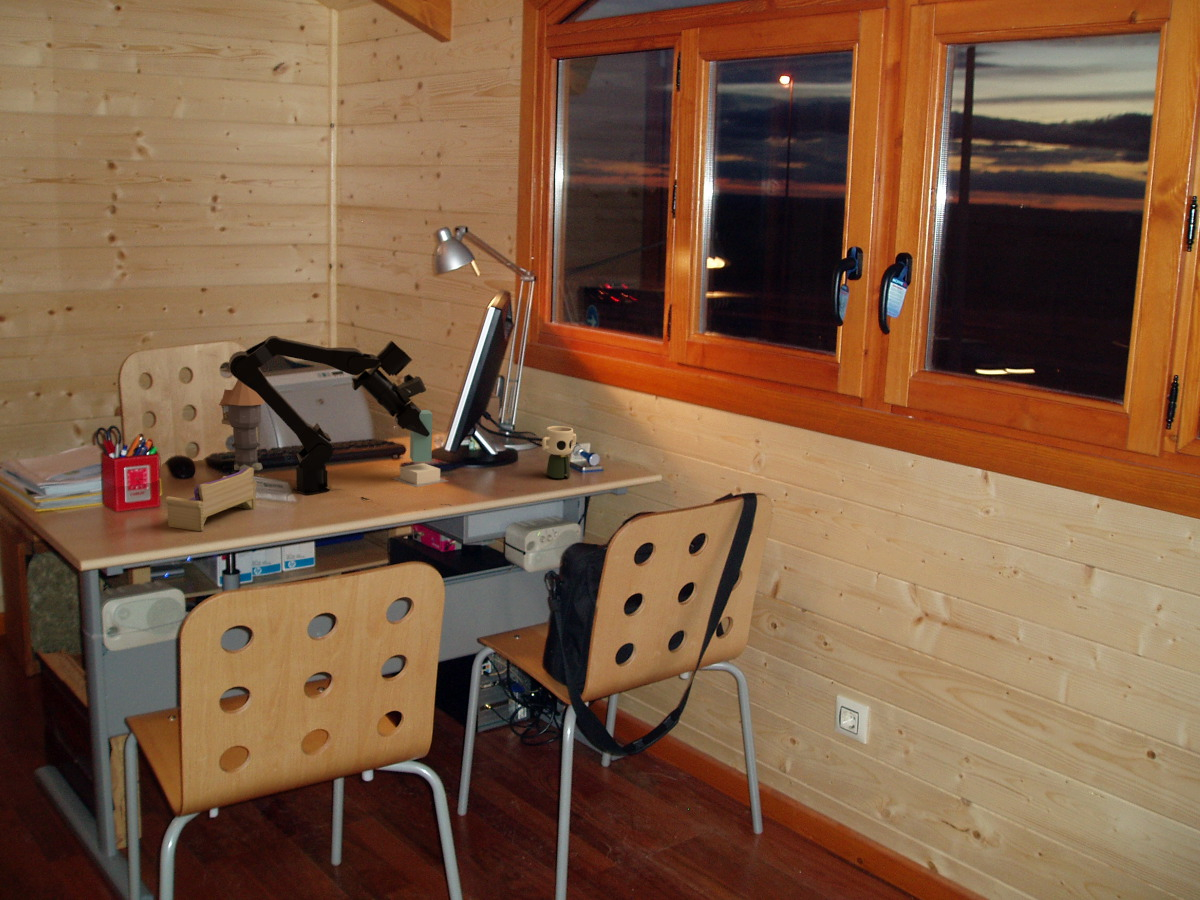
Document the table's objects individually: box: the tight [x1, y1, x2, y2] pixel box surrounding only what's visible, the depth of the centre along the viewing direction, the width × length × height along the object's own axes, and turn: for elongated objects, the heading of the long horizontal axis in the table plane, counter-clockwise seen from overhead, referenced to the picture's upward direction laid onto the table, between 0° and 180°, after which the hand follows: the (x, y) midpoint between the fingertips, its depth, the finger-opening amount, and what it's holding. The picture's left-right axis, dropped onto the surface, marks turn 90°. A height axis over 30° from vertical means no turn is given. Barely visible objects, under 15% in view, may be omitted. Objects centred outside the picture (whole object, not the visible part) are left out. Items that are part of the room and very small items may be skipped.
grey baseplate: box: [391, 476, 448, 488], centre depth 281 cm, size 10×10×2 cm
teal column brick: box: [409, 409, 433, 463], centre depth 278 cm, size 4×4×12 cm
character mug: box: [541, 425, 577, 479], centre depth 294 cm, size 11×7×13 cm, turn 130°
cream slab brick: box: [399, 462, 441, 485], centre depth 280 cm, size 7×7×3 cm
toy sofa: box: [165, 467, 258, 532], centre depth 246 cm, size 21×9×10 cm, turn 162°
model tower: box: [218, 379, 266, 472], centre depth 287 cm, size 10×11×30 cm
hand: (426, 433), depth 278 cm, fingers closed on teal column brick, 4 cm apart
